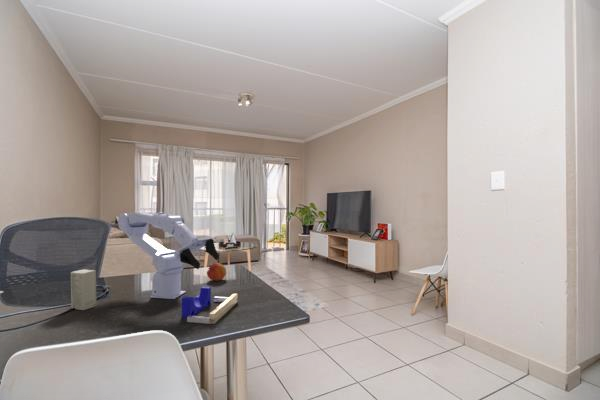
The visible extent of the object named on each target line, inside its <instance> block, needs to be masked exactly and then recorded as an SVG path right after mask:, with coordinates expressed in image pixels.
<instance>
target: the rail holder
mask: <svg viewBox="0 0 600 400" xmlns="http://www.w3.org/2000/svg"><path fill="white" fill-rule="evenodd" d="M238 294H239V293H232V294H231V295H230V296H218V295H217V296H216V295H215V296H213V302H217V303H220V304H219V305H218V306H216V308H214V309H213V310H212V311H210V313H208V316H201V315H200V316H198V315H194V316H190V315H189V316H188V317H186V322H188V323H196V324H197V323H198V324H205V325H208V324H209V325H215V324H216V323H218V321H219V320H220V319H221V318H222V317H223V316H225V314H226V313H227V312H229V311H230V310H231V309H232V308H233V307H234V306H235V305H236V304H237V303H238V301H239V300H238V296H239V295H238Z"/></svg>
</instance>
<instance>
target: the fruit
mask: <svg viewBox="0 0 600 400" xmlns="http://www.w3.org/2000/svg"><path fill="white" fill-rule="evenodd" d="M206 275H207V278H209V279H210V280H212V281H222V280H224V278H225V276H226V275H227V269H226V267H225V266H224V264H222V263H220V262H214V263H211V265H210V266H209V267H208V270H207V272H206Z"/></svg>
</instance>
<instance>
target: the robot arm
mask: <svg viewBox="0 0 600 400" xmlns="http://www.w3.org/2000/svg"><path fill="white" fill-rule="evenodd" d="M117 218H118V219H117V224H118V229H119V230H121V231H122V232H123V233H125V235H127V236H128V239H129V240H130V241H131V243H133V244H135V246H137V247H139V249H141V250H142V251H144V252H145V253H146V254H148V255H149V256H150V258H152V261H151V262H152V263H151V264H152V266H154V268H155V270H156V272H155V273H154V274H153V277H152V281H151V282H152V288H151V290H152V292H151V296H150V298H153V299H166V300H175V299H177V298H178V297H179V296H182V295H183V294H186V290H182V271H184V267H186V266H187V265H189V266H192V267H194V268H196V269H197V270H199V269H200V266H201V263H200V262H199V261H198V260H197V258H196V257H195V255H194V253H196V252H197V251H199V250H201V249H202V248H203V247H205V252H206V253H207V254H209V255H210V256H212V258H213V259H214V260H216V261H218V260H219V256H220V255H219V253H218V251H217V249H216V246H215V243H214V241H215V239H214V238H212V237H204V238H203V237H202V238H199V237H198V236H196V235H195V233H193V232H192V230H191V229H190V228H189V227H188V226H187V225H186V224H185V219H184V217H183V216H181V215H180V214H179V215H178V214H177V215H172V214H170V213H167V214H166V213H164V212H163V211H157V213H154V214H151V213H149V212H148V213H147V212H130V213H120V214H119V216H118V217H117ZM149 224H151V226H152V227H153V228H156V229H161V230H162V231H163V233H168V234H169V235H172V237H173V238H174V239H175V240H176V242H178V244H179V245H181V247H180V248H178V249H177V250H173V249H168V248H167V247H165V246H163V245H162V244H160V243H159V242H158V241H156V240H155V239H154V238H153V237H151V236H149V235H148V234H147V233H148V232H149ZM186 264H187V265H186Z"/></svg>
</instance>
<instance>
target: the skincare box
mask: <svg viewBox="0 0 600 400" xmlns="http://www.w3.org/2000/svg"><path fill="white" fill-rule="evenodd" d="M70 300H71V301H70V302H71V303H70V306H71V309H73V308H75V309H74V310H80V311H86V310H88V309H91V308H95V307H97V270H95V269H85V268H84V269H79V270H74V271H71V272H70Z"/></svg>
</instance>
